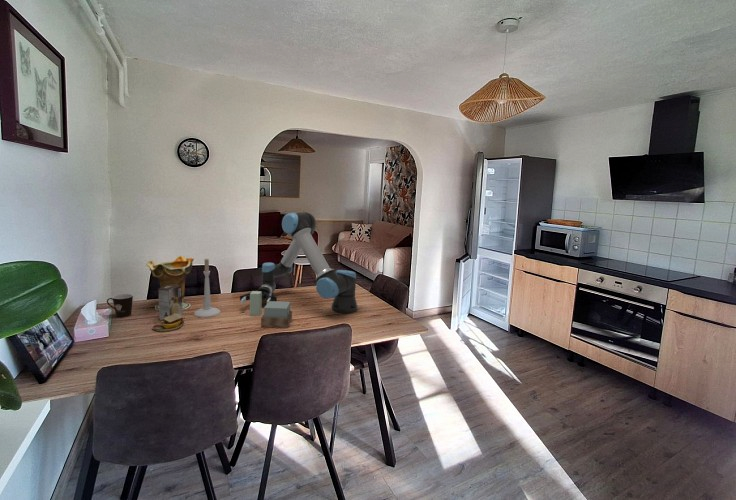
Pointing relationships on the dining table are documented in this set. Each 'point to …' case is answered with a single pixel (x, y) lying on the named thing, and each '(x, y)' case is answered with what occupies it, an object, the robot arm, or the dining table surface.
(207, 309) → the candlestick
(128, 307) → the coffee mug
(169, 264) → the decorative vase
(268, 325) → the walnut base block
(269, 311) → the slate top block
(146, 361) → the dining table surface
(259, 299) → the sage pillar block
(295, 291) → the dining table surface
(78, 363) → the dining table surface
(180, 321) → the toy sandwich meal
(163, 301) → the coffee box
